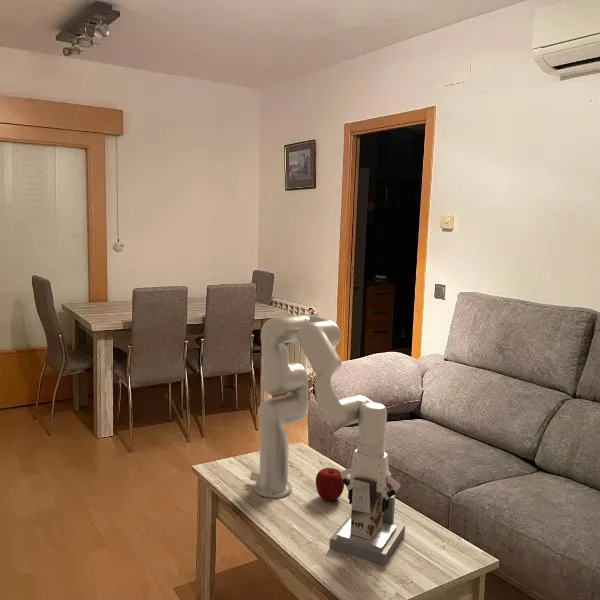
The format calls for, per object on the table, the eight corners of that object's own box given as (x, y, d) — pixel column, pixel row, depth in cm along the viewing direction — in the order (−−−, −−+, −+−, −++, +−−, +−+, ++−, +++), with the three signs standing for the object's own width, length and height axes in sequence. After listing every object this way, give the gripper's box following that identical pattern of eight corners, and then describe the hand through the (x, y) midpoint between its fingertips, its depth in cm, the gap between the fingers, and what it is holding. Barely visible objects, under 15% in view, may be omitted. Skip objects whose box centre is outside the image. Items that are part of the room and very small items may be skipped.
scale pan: (336, 538, 159) (336, 534, 159) (353, 517, 171) (353, 514, 170) (381, 551, 153) (381, 547, 153) (396, 529, 165) (396, 525, 165)
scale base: (329, 548, 159) (331, 510, 158) (353, 520, 175) (355, 485, 174) (384, 565, 152) (387, 526, 151) (404, 534, 168) (406, 498, 167)
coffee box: (371, 540, 156) (374, 484, 154) (349, 534, 159) (352, 478, 157) (383, 526, 164) (386, 472, 162) (362, 519, 167) (364, 467, 165)
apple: (337, 490, 194) (338, 462, 193) (348, 503, 185) (350, 474, 184) (311, 493, 191) (312, 465, 190) (321, 507, 182) (322, 477, 181)
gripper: (337, 445, 159) (334, 504, 161) (397, 459, 152) (393, 520, 154) (347, 437, 166) (344, 493, 168) (405, 449, 158) (402, 508, 160)
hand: (368, 506), depth 161 cm, fingers open, 9 cm apart
